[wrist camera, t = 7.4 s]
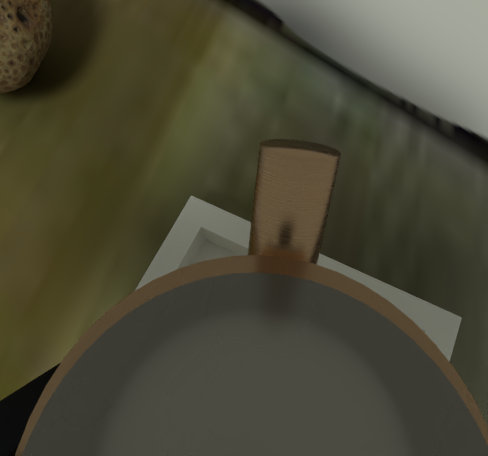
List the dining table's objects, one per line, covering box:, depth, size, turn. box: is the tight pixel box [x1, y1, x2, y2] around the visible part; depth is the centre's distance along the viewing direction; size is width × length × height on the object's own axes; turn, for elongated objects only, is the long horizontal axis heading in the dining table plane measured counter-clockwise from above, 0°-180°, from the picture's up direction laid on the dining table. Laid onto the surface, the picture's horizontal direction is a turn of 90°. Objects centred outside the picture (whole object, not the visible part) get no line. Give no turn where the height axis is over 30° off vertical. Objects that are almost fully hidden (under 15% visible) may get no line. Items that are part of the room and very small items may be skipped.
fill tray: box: [135, 196, 462, 362], centre depth 15 cm, size 13×13×3 cm
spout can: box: [15, 139, 488, 456], centre depth 9 cm, size 8×6×11 cm
